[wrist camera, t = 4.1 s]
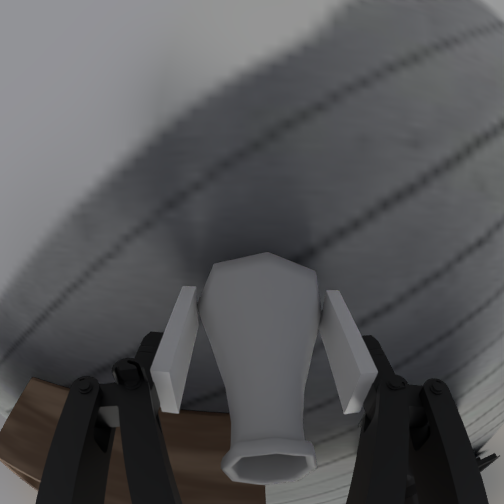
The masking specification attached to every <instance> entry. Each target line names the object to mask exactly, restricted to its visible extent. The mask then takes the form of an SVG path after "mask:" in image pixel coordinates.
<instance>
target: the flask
mask: <svg viewBox="0 0 504 504" xmlns="http://www.w3.org/2000/svg"><path fill="white" fill-rule="evenodd" d="M197 309H198V312H199V315H200V318H201V321H202V323H203V326H204V329H205V331H206V334H207V337H208V339H209V342H210V345H211V347H212V350H213V353H214V356H215V359H216V362H217V365H218V368H219V371H220V374H221V377H222V380H223V382H224V385H225V389H226V395H227V401H228V407H229V413H230V418H231V447H230V450H229V451H228V452H227V453H226V454H225V456H224V457H223V458H222V461H221V469H222V471H223V472H224V473H225V474H226V475H227V476H228V477H229V478H230V479H231V480H232V481H235V482H242V483H250V484H258V485H270V484H278V483H286V482H293V481H299V480H300V479H302V478H303V477H305V476H306V475H308V474H309V473H311V472H312V471H314V470H315V469H316V468H317V460H316V455H315V449H314V447H313V444H312V443H311V442H310V441H305V437H304V429H303V409H304V389H305V385H306V381H307V376H308V372H309V367H310V363H311V358H312V354H313V349H314V345H315V341H316V338H317V334H318V330H319V326H320V321H321V316H322V310H321V303H320V295H319V288H318V281H317V275H316V271H314V270H312V269H309V268H307V267H304V266H302V265H299V264H297V263H294V262H292V261H289V260H287V259H284V258H282V257H279V256H277V255H274V254H272V253H269V252H264V253H260V254H255V255H251V256H246V257H242V258H237V259H233V260H228V261H224V262H219V263H215V264H213V267H212V269H211V272H210V274H209V277H208V279H207V281H206V284H205V286H204V289H203V291H202V294H201V296H200V299H199V301H198V304H197Z"/></svg>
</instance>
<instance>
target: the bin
mask: <svg viewBox="0 0 504 504" xmlns="http://www.w3.org/2000/svg"><path fill="white" fill-rule="evenodd" d="M69 391H70V388H66V387H63V386H60V385H56V384H53V383H50V382H47V381H43V380H40V379H37V378H35V377H32V378H31V380H30V381H29V383H28V384H27V386H26V388H25V389H24V391H23V393H22V394H21V396H20V398H19V399H18V401H17V403H16V404H15V406H14V408H13V410H12V411H11V413H10V415H9V417H8V418H7V420H6V422H5V424H4V426H3V428H2V429H1V431H0V461H1V462H2V463H3V464H4V465H5V466H7V467H8V468H9V469H10V470H11V471H12V472H14V473H15V474H16V475H17V476H19V477H20V478H21V479H22V480H24V481H25V482H26V483H27V484H29V485H30V486H31V487H33V488H34V489H35V490H37V491H38V490H39V486H40V482H41V478H42V474H43V470H44V466H45V463H46V459H47V456H48V452H49V449H50V446H51V442H52V439H53V436H54V433H55V430H56V427H57V424H58V421H59V418H60V415H61V412H62V410H63V407H64V404H65V401H66V399H67V396H68V393H69ZM158 415H159V418H160V422H161V427H162V431H163V436H164V440H165V444H166V448H167V452H168V456H169V460H170V464H171V467H172V471H173V474H174V478H175V481H176V485H177V488H178V491H179V494H180V498H181V501H182V504H266V497H265V485H258V484H250V483H242V482H235V481H232V480H231V479H230V478H229V477H228V476H227V475H226V474H225V473H224V472H223V471H222V469H221V461H222V458H223V457H224V456H225V454H226V453H227V452H228V451H229V450H230V447H231V418H230V413H215V412H201V411H190V410H179V414H177V413H169V412H162V410H161V407H159V410H158ZM104 504H132V502H131V497H130V492H129V487H128V481H127V476H126V470H125V463H124V456H123V449H122V441H121V432H120V427H116V431H115V436H114V441H113V447H112V452H111V458H110V464H109V471H108V478H107V485H106V492H105V500H104Z"/></svg>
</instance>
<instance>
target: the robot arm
mask: <svg viewBox="0 0 504 504" xmlns="http://www.w3.org/2000/svg"><path fill="white" fill-rule="evenodd" d="M198 327H199V322H198V309H197V294H196V286H182V289H181V291H180V294H179V296H178V299H177V301H176V304H175V306H174V309H173V311H172V314H171V316H170V319H169V321H168V324H167V326H166V329H165V331H164V333H160V332H150V333H149V334H147V335H146V336H145V337H144V338H143V341H142V343H141V346H140V347H139V349H138V352H137V354H136V356H135V358H126V359H122V360H120V361H118V362H116V363H115V365H114V366H113V368H112V373H113V376H114V379H115V381H116V382H115V383H108V384H99V383H98V381H97V380H96V379H95V378H93V377H90V376H84V377H81V378H78V379H77V380H75V381H74V383H73V384H72V386H71V388H70V391H69V393H68V396H67V399H66V401H65V404H64V407H63V410H62V412H61V415H60V418H59V421H58V424H57V427H56V430H55V433H54V436H53V439H52V442H51V446H50V449H49V452H48V456H47V459H46V463H45V466H44V470H43V474H42V478H41V482H40V486H39V490H38V495H37V499H36V504H104V500H105V492H106V485H107V478H108V471H109V464H110V458H111V452H112V447H113V441H114V436H115V431H116V427H120V432H121V441H122V449H123V456H124V463H125V470H126V476H127V481H128V487H129V492H130V497H131V502H132V504H182V501H181V498H180V494H179V491H178V488H177V485H176V481H175V478H174V474H173V471H172V467H171V464H170V460H169V456H168V452H167V448H166V444H165V440H164V436H163V431H162V427H161V422H160V418H159V415H158V410H159V407H161V410H162V412H169V413H177V414H179V410H180V406H181V401H182V396H183V392H184V387H185V383H186V378H187V374H188V370H189V365H190V361H191V357H192V352H193V348H194V344H195V340H196V335H197V331H198ZM319 331H320V334H321V337H322V341H323V344H324V347H325V351H326V354H327V357H328V360H329V364H330V367H331V371H332V374H333V377H334V381H335V384H336V388H337V391H338V395H339V398H340V402H341V405H342V409H343V413H344V414H351V413H359V412H360V410H361V408H362V406H364V409H365V411H366V412H365V414H364V416H363V418H362V420H361V422H360V423H359V426H358V427H361V425H362V427H361V434H360V440H359V446H358V452H357V457H356V462H355V467H354V472H353V477H352V481H351V486H350V490H349V494H348V498H347V502H346V504H489V503H488V499H487V495H486V492H485V488H484V484H483V481H482V477H481V474H480V470H479V467H478V464H477V461H476V458H475V455H474V452H473V449H472V446H471V443H470V440H469V438H468V435H467V432H466V430H465V427H464V424H463V422H462V419H461V417H460V414H459V412H458V409H457V407H456V405H455V402H454V400H453V398H452V395H451V393H450V391H449V389H448V387H447V385H446V384H445V383H444V382H443V381H441V380H439V379H429V380H427V381H426V382H425V384H424V385H423V386H417V385H410V384H407V382H406V380H405V379H404V378H402V377H401V376H399V375H395V373H394V371H393V369H392V367H391V365H390V363H389V361H388V359H387V357H386V355H385V354H384V352H383V350H382V348H381V346H380V344H379V342H378V341H377V340H376V339H375V338H374V337H373V336H372V335H366V336H361V334H360V332H359V330H358V328H357V326H356V324H355V322H354V320H353V318H352V316H351V314H350V311H349V309H348V307H347V305H346V303H345V301H344V300H343V298H342V296H341V294H340V292H339V290H326V293H325V299H324V304H323V310H322V316H321V321H320V326H319Z"/></svg>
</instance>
